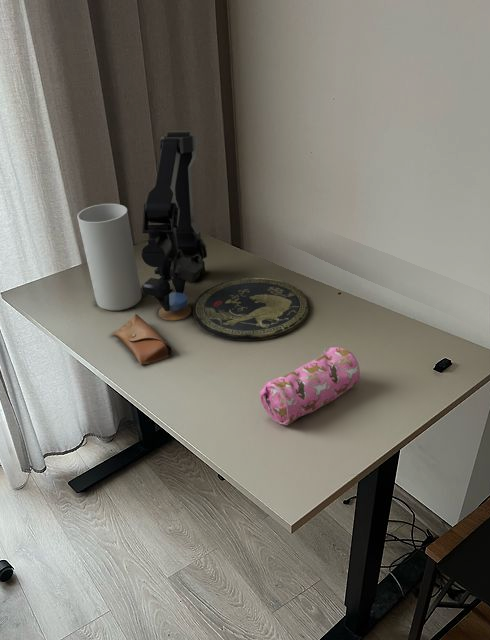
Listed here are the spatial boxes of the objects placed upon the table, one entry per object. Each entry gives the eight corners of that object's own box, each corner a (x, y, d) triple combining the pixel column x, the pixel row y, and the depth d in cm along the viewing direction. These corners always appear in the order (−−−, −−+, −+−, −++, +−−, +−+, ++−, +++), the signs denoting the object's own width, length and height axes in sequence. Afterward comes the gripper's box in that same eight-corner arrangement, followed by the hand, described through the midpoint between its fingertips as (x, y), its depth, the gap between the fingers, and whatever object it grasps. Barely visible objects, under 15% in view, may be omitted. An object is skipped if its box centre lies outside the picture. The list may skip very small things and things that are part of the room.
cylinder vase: (105, 289, 172) (87, 203, 157) (147, 289, 170) (132, 203, 155) (90, 311, 162) (69, 222, 147) (135, 312, 160) (118, 222, 145)
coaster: (152, 317, 157) (152, 316, 157) (168, 302, 163) (168, 300, 163) (181, 323, 154) (181, 321, 154) (196, 307, 160) (196, 305, 160)
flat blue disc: (156, 311, 157) (155, 303, 155) (169, 298, 162) (168, 290, 160) (180, 315, 154) (178, 307, 153) (192, 302, 159) (191, 294, 158)
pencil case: (329, 371, 133) (331, 337, 128) (362, 390, 127) (365, 355, 122) (256, 414, 123) (255, 379, 118) (287, 436, 117) (287, 400, 112)
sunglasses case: (109, 333, 151) (118, 309, 149) (133, 337, 156) (142, 313, 154) (141, 366, 139) (150, 340, 137) (166, 369, 143) (175, 344, 141)
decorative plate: (168, 314, 154) (237, 267, 172) (169, 321, 155) (237, 273, 174) (266, 349, 139) (330, 293, 157) (266, 355, 140) (329, 300, 158)
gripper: (177, 269, 138) (184, 327, 148) (212, 237, 152) (216, 292, 161) (135, 263, 142) (145, 320, 152) (173, 232, 156) (180, 286, 165)
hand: (174, 304), depth 157 cm, fingers closed on flat blue disc, 7 cm apart
